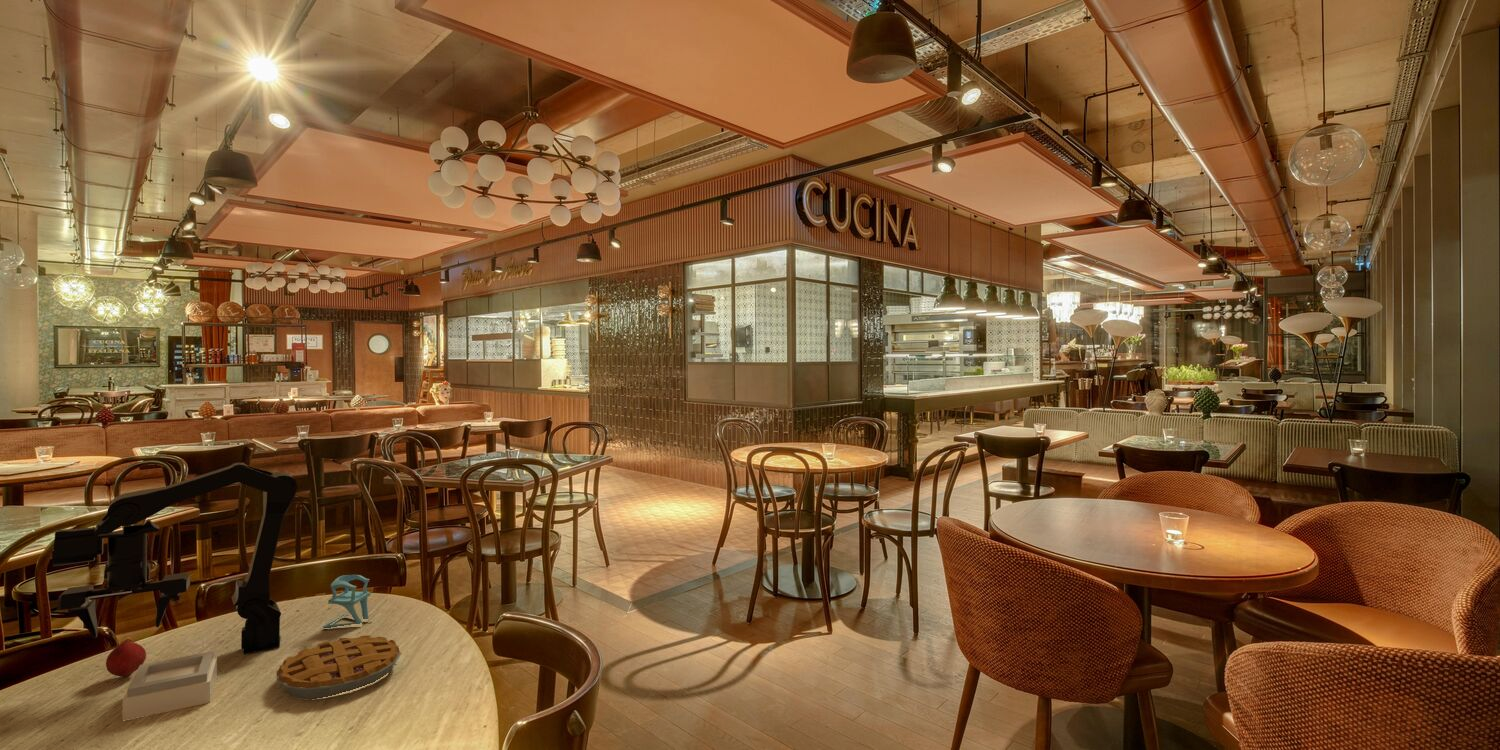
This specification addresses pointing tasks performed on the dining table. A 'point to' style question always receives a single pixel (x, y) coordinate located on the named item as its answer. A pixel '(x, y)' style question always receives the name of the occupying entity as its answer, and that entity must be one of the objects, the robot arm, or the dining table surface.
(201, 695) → the display pedestal
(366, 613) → the chair
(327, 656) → the pie
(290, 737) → the dining table surface
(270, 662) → the dining table surface
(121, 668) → the onion
